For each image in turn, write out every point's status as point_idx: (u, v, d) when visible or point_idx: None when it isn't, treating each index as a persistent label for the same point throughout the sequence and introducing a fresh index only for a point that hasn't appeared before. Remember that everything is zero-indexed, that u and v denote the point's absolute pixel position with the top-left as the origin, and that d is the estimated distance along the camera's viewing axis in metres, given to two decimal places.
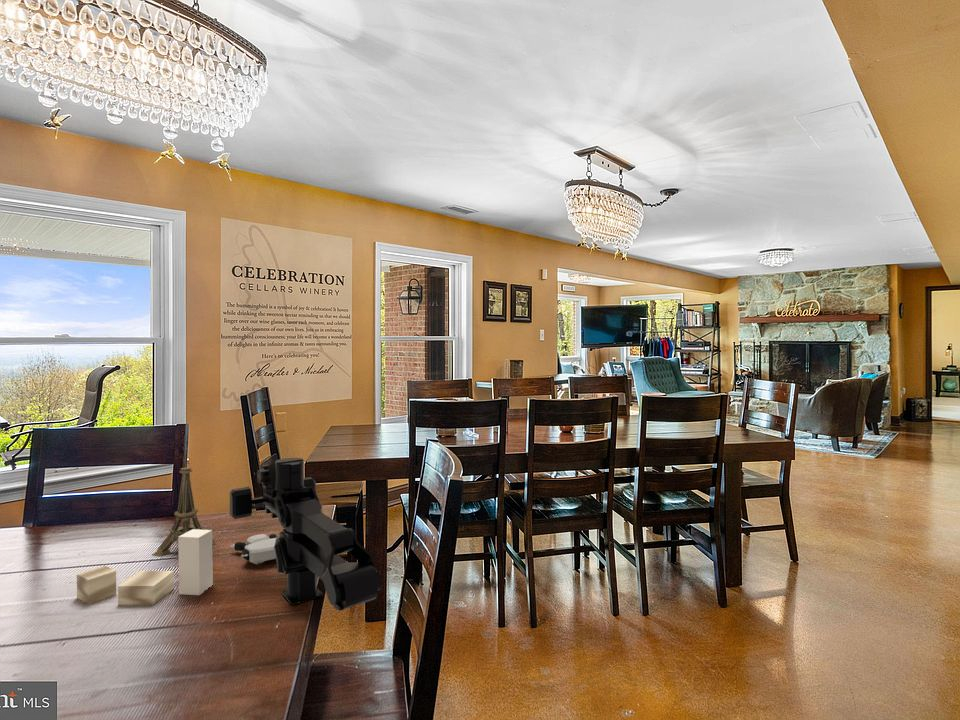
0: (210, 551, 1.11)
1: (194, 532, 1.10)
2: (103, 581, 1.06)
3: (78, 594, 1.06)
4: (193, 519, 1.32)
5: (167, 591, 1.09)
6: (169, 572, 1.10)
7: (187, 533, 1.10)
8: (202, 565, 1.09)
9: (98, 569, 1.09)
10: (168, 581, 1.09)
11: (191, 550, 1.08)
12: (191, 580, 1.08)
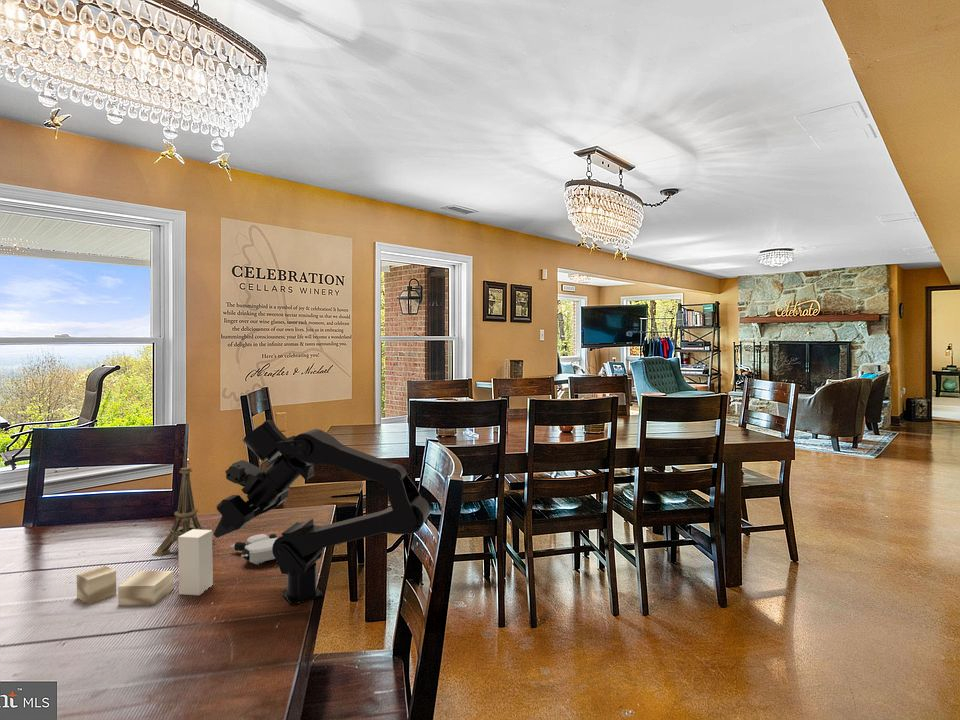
0: (210, 551, 1.11)
1: (194, 532, 1.10)
2: (103, 580, 1.06)
3: (78, 594, 1.06)
4: (193, 519, 1.32)
5: (167, 591, 1.09)
6: (169, 572, 1.10)
7: (187, 533, 1.10)
8: (202, 565, 1.09)
9: (98, 569, 1.09)
10: (168, 580, 1.09)
11: (191, 550, 1.08)
12: (191, 580, 1.08)
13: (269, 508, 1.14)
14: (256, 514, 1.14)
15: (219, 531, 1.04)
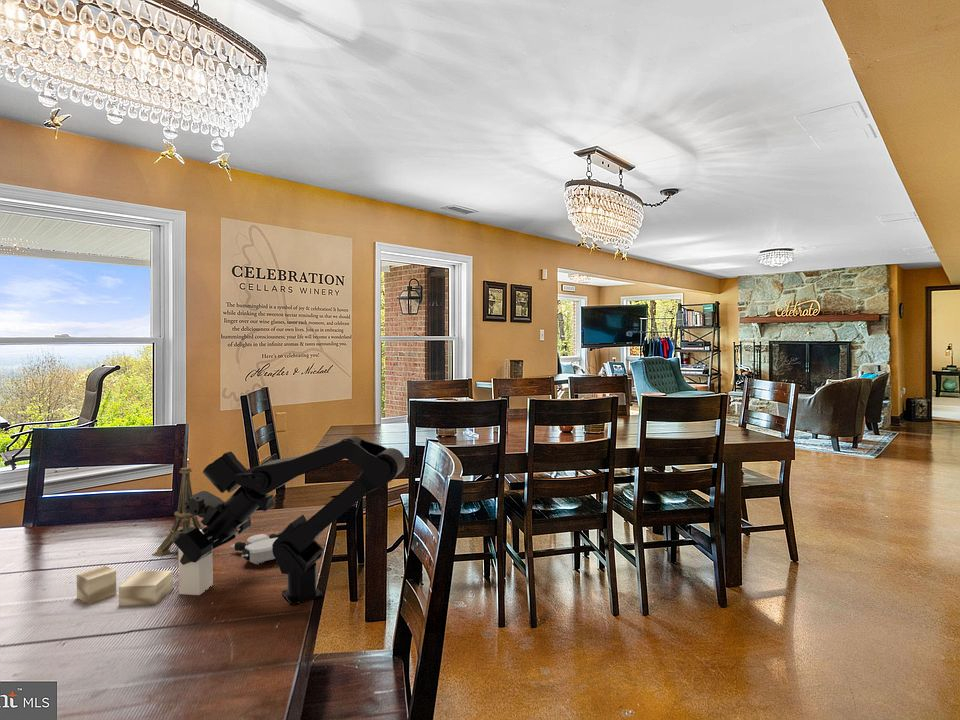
0: None
1: None
2: (103, 580, 1.06)
3: (78, 594, 1.06)
4: (193, 519, 1.32)
5: (167, 590, 1.09)
6: (169, 571, 1.10)
7: None
8: (202, 565, 1.09)
9: (98, 569, 1.09)
10: (168, 580, 1.09)
11: None
12: (191, 580, 1.08)
13: (225, 541, 1.12)
14: (212, 547, 1.12)
15: (185, 558, 1.07)
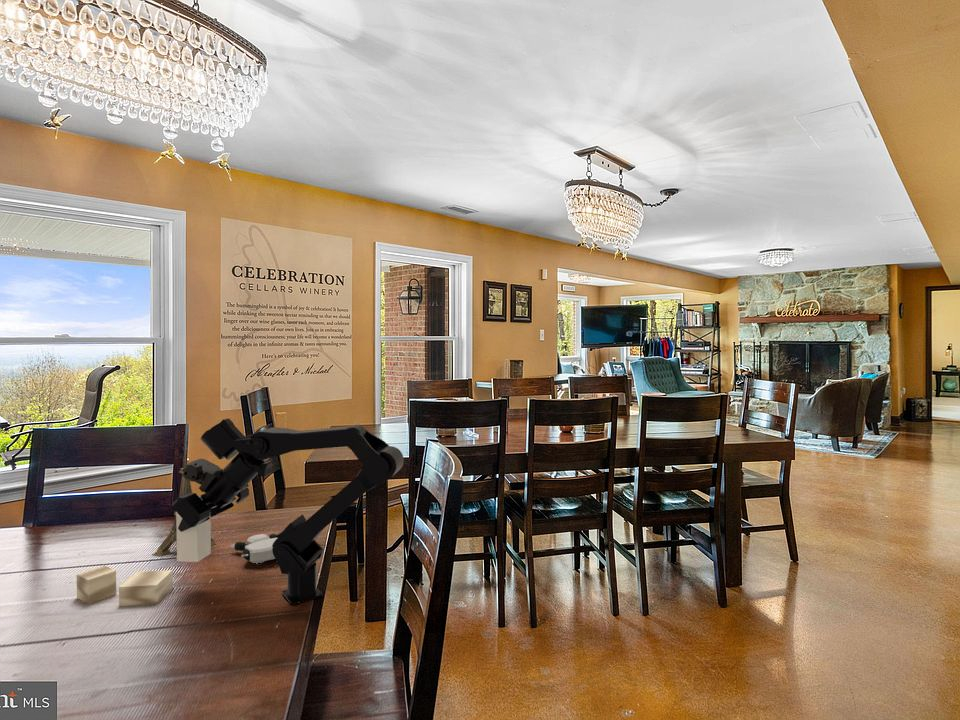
0: None
1: None
2: (103, 581, 1.06)
3: (78, 594, 1.06)
4: None
5: (167, 590, 1.09)
6: (168, 571, 1.10)
7: None
8: (200, 532, 1.08)
9: (98, 569, 1.09)
10: (168, 580, 1.09)
11: None
12: (189, 547, 1.08)
13: (223, 509, 1.12)
14: (210, 515, 1.12)
15: (183, 525, 1.07)
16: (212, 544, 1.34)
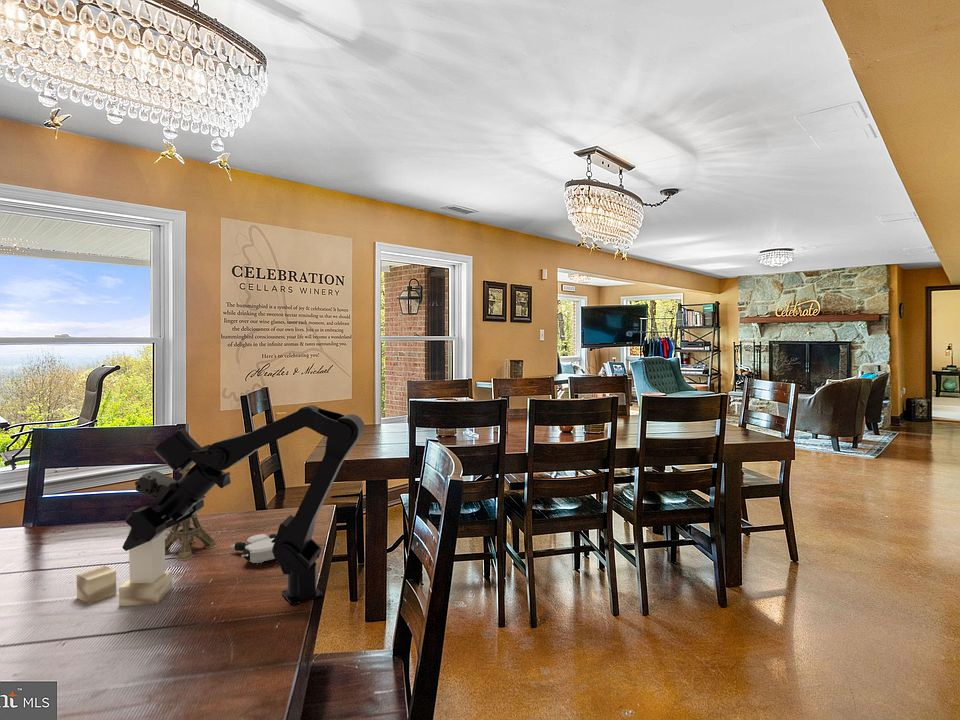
0: (162, 538, 1.09)
1: None
2: (103, 581, 1.06)
3: (78, 594, 1.06)
4: (193, 519, 1.32)
5: (167, 590, 1.09)
6: (168, 571, 1.10)
7: None
8: (155, 552, 1.06)
9: (98, 569, 1.09)
10: (168, 580, 1.10)
11: None
12: (143, 568, 1.05)
13: (183, 518, 1.12)
14: (169, 525, 1.12)
15: (128, 544, 1.02)
16: (212, 544, 1.34)
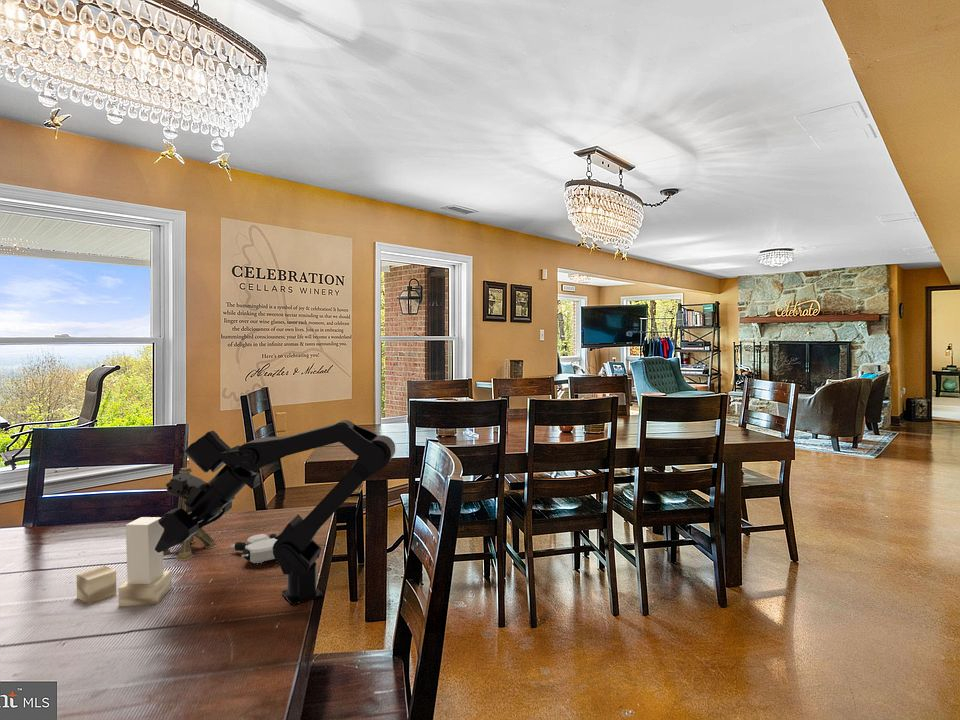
0: None
1: (143, 520, 1.07)
2: (103, 581, 1.06)
3: (78, 594, 1.06)
4: None
5: (167, 590, 1.09)
6: (167, 571, 1.10)
7: (136, 521, 1.06)
8: (152, 553, 1.05)
9: (98, 569, 1.09)
10: (168, 580, 1.09)
11: (140, 538, 1.04)
12: (140, 569, 1.05)
13: (212, 520, 1.12)
14: (199, 526, 1.12)
15: (161, 546, 1.02)
16: (212, 544, 1.34)
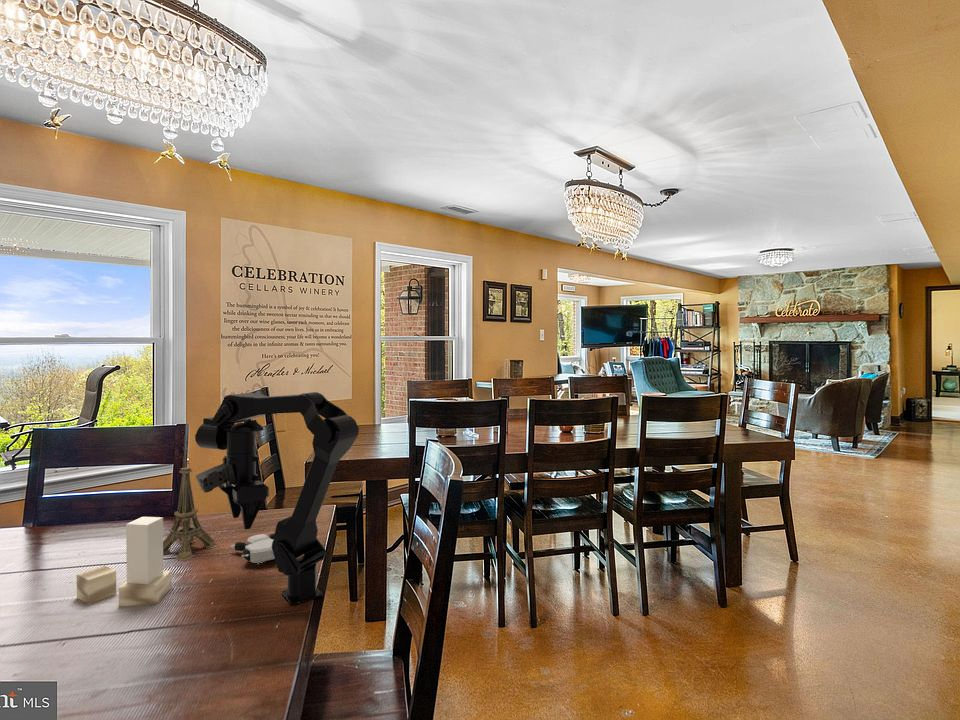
0: (160, 539, 1.08)
1: (144, 520, 1.07)
2: (103, 581, 1.06)
3: (78, 594, 1.06)
4: (193, 519, 1.32)
5: (167, 590, 1.09)
6: (167, 571, 1.10)
7: (136, 520, 1.06)
8: (151, 553, 1.05)
9: (98, 569, 1.09)
10: (168, 580, 1.10)
11: (140, 538, 1.04)
12: (139, 569, 1.05)
13: None
14: None
15: (249, 521, 1.09)
16: (212, 544, 1.34)
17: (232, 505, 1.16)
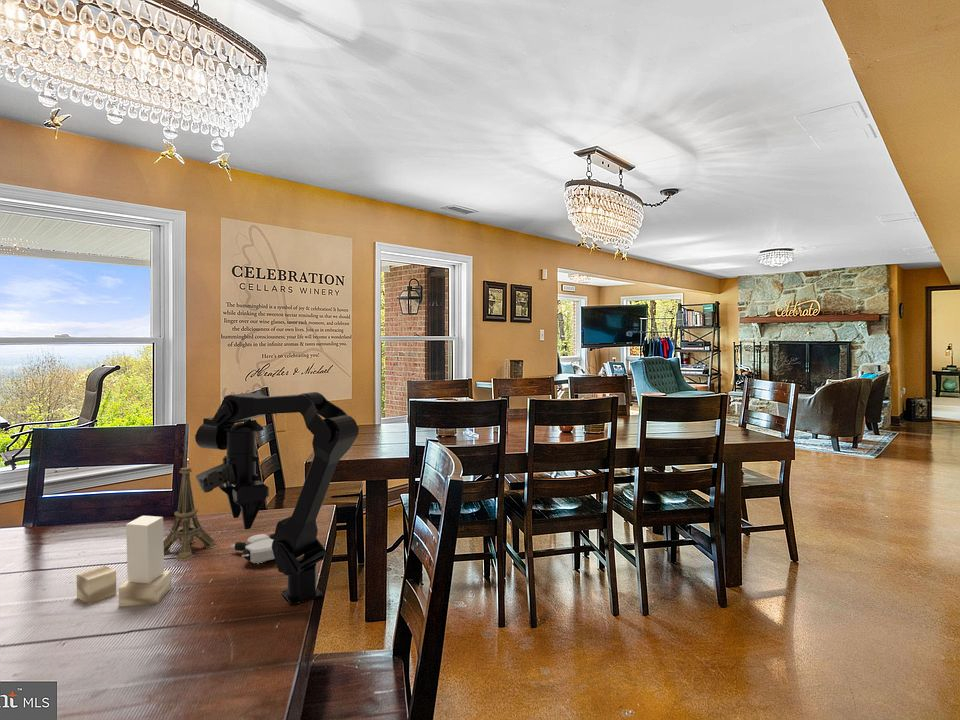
0: (161, 538, 1.08)
1: (144, 519, 1.07)
2: (103, 580, 1.06)
3: (78, 594, 1.06)
4: (193, 519, 1.32)
5: (167, 590, 1.09)
6: (167, 571, 1.10)
7: (136, 520, 1.06)
8: (151, 553, 1.05)
9: (98, 569, 1.09)
10: (168, 580, 1.09)
11: (140, 538, 1.04)
12: (140, 568, 1.05)
13: None
14: None
15: (249, 521, 1.09)
16: (212, 544, 1.34)
17: (232, 505, 1.16)
